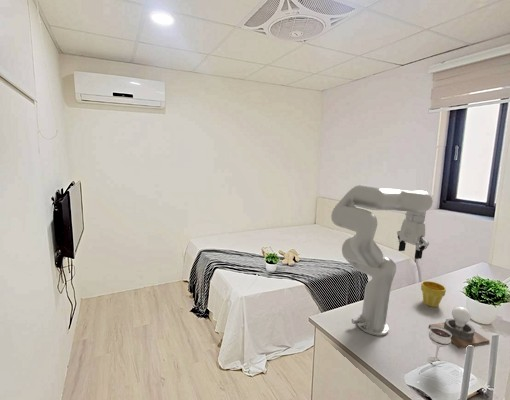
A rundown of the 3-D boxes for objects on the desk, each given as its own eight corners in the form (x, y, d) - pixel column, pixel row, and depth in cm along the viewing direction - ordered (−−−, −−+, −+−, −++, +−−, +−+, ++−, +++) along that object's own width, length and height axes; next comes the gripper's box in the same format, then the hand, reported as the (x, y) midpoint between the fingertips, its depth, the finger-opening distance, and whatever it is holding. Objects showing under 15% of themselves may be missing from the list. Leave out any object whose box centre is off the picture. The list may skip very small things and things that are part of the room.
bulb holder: (458, 348, 113) (460, 338, 113) (428, 326, 126) (430, 318, 126) (489, 342, 118) (491, 333, 117) (457, 322, 131) (458, 314, 130)
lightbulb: (471, 337, 118) (475, 312, 117) (453, 335, 119) (457, 310, 118) (463, 329, 124) (466, 304, 123) (446, 327, 125) (450, 302, 124)
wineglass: (439, 356, 108) (445, 326, 106) (450, 369, 101) (456, 338, 99) (421, 354, 109) (426, 325, 106) (430, 367, 102) (436, 337, 100)
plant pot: (423, 307, 142) (426, 288, 141) (415, 297, 152) (418, 279, 151) (446, 310, 141) (449, 291, 139) (437, 300, 151) (440, 282, 149)
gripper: (394, 213, 137) (389, 248, 140) (424, 223, 121) (418, 262, 124) (407, 213, 139) (402, 247, 142) (438, 222, 123) (432, 261, 126)
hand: (409, 254), depth 133 cm, fingers open, 9 cm apart
